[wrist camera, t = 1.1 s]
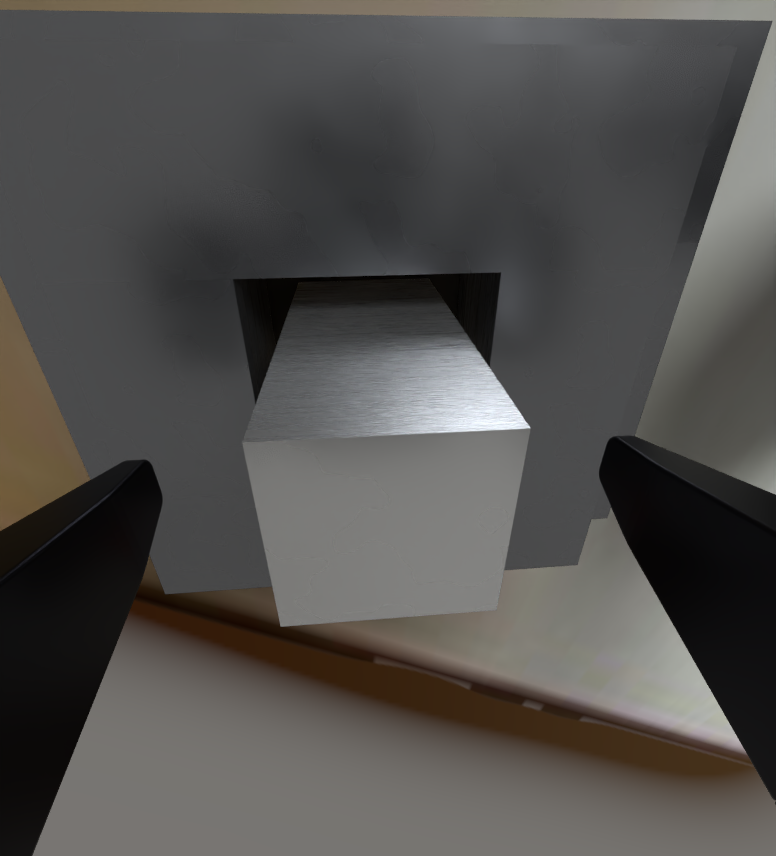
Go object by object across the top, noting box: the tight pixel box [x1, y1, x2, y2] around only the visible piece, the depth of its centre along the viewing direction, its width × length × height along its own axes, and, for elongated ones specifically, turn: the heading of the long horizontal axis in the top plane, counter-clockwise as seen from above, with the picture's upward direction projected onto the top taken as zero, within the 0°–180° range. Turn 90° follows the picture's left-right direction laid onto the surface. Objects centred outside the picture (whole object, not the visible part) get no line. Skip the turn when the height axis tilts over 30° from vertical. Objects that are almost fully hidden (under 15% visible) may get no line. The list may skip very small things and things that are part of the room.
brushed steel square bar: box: [242, 278, 531, 627], centre depth 11 cm, size 4×4×9 cm
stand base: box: [0, 10, 772, 594], centre depth 13 cm, size 20×16×6 cm
